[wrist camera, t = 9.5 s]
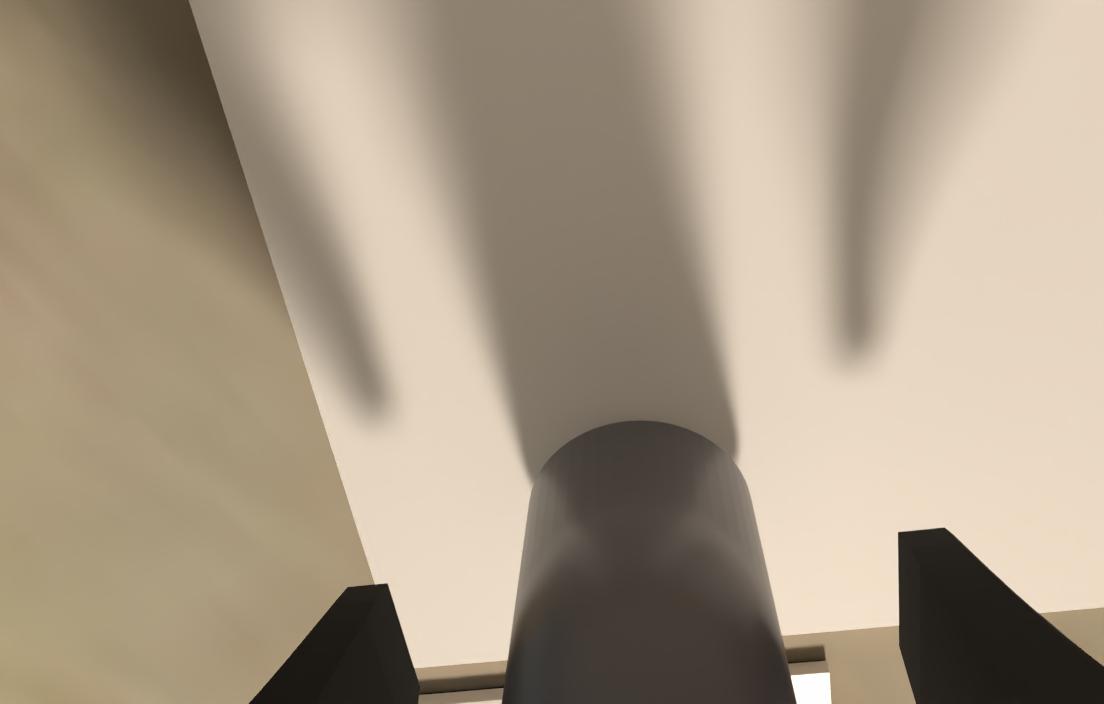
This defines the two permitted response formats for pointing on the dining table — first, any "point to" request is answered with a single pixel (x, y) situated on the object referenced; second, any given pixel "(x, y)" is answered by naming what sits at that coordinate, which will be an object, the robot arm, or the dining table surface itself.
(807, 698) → the word card
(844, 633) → the dining table surface
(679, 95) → the paper
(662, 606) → the marker
